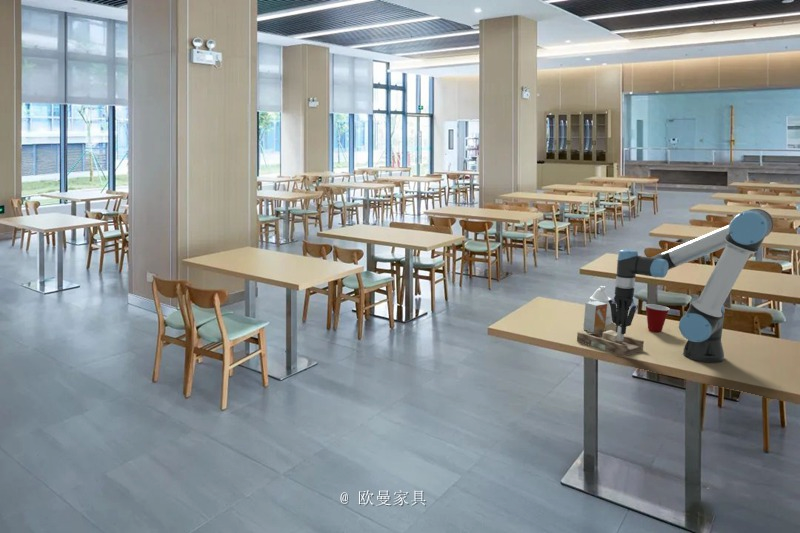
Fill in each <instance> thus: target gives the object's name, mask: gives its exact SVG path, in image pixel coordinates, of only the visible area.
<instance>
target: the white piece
mask: <svg viewBox="0 0 800 533" xmlns="http://www.w3.org/2000/svg"><path fill="white" fill-rule="evenodd" d="M605 290H606V286H605V285H604V286H603V285H600V286H599V288H597V289H596V290H595V291H594V292H593V294H592V295H591V296H590V297H589V301H588V302H594V301H599V302H603V303H606V304H607V313H606V324H605V326H609V325H612V324H613V322H612V315H611V307H610V304H609V300H612V298H611V297H609V296H608V294H607V291H605Z"/></svg>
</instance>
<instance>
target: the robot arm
mask: <svg viewBox="0 0 800 533" xmlns="http://www.w3.org/2000/svg"><path fill="white" fill-rule="evenodd" d="M774 223H775V222H774V220H773V217H772V215H771V214H770V213H769V212H768V211H767V210H764V209H761V208H752V209H748V210H745V211H741V212H740V213H737V215H735V216H734V217H733V218H732V219H731V221H730V223H729V224H727V225H725V226H722V227H720V228H718V229H715V230H713V231H711V232H708V233H706V234H704V235H701V236H699V237H696V238H695V239H694V238H693V239H691V240H690V241H686V242H684V243H682V244H680V245H677V246H675V247H673V248H672V247H671V248H670V249H668V250H665V251H663V252H661V253H658V254H656V255H654V256H651V257H648V256H641V255H639V252H638V251H637V250H635V249H629V248H622V249H620V250H619V251H618V256H617V260H616V261H617V265H616V266H617V267H616V276H615V288H614V296H613V298H611V300H609V304H610V307H611V315H612V324H615V326H616V327H615V331H616V332H617V341H619V342H620V341H623V338H624V336H625V334H626V332H627V327H630V326H631V325H632V323H633V320H634V317H635V313H636V311H637V310H638V309H639V304H638V305H637V304H636V303H635V301H634V294H635V288H634V287H635V284H636V277H637V276H636V275H641V276H645V277H654V278H661V279H662V278H665V277H666V276H667V274H668V272H669V271H670V270H673V269H674V268H677V267H678V266H682V265H684V264H687V263H688V262H692V261H694V260H696V259H699V258H701V257H704V256H707V255H709V254H711V253H714V252H717V251H719V250H721V249H723V251H722V253H721V255H720V257H719V259H718V261H717V262H716V265H715V266H714V268H713V271H712V272H711V275H710V276H709V278H708V280H707V282H706V284H705V286H704V288H703V289H702V291H701V293H700V295H699V297H698V299H696V300H693V301H691V303H690V305H689V307H688V309H687V311H686V313H685V314H683V316H682V317H681V318H680V320H679V323H678V328H679V333H680V334H681V335H682V336H683V338H685V339H686V340H687V341H686V343H685V346H684V347H683V353H682V354H683V356H684V357H687V358H689V359H691V360H694V361H696V362H697V361H698V362H704V363H720V362H723V361H724V359H725V352H724V347H723V343H722V336H723V328H724V327H723V326H724V319H725V318H724V317H725V313H726V311H725V308H726V307H725V305H724V304H725V302H726V300H727V298H728V297H729V295H730V293H731V291H732V290H733V287H734V286H735V283H736V282H737V280H738V277H739V276H740V274H741V272H742V271H743V269H744V267H745V265H746V263H747V261H748V260H749V258H750V257H751V255H753V254H755V253H757V252H758V251H759V249H760V247H761V245H762V244H763V242H764V240H765V238H766V237H768V236H769V235H770V234H771V232H772V231H773V229H774Z"/></svg>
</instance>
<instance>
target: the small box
mask: <svg viewBox="0 0 800 533" xmlns="http://www.w3.org/2000/svg"><path fill="white" fill-rule="evenodd" d="M606 313H607V304H606V303H603V302H599V301H594V302H589V301H588V302H585V305H584V315H583V316H584V317H583V318H584V320H583V331H586V330H587V332H589V331H590V332H589V333H593V332H594V328H599V329H603V330H606V325H605V324H606Z"/></svg>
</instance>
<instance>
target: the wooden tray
mask: <svg viewBox="0 0 800 533" xmlns="http://www.w3.org/2000/svg"><path fill="white" fill-rule="evenodd" d="M606 331H607V330H606V329H605V330H603V329H599V328H594V332H589V333H585V332H581V331H577V336H576V341H577V342H579V343H582V344H585V343H586V344H585V345H588V344H589V346H591V345H592V347H593V348H598V349H601V350H604V351H608V352H611V353H614V354H617V355H620V356H624V357H626V356H629V355H632V354H637V353H639V352H642V351H644V342H645V341H644V340H641V339H638V338H634V337H630V336H627V335H624V338H623V341H622V343H619V344H618V343H615V342H612V341H608V340H605V339H602V334H603V332H606Z"/></svg>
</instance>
